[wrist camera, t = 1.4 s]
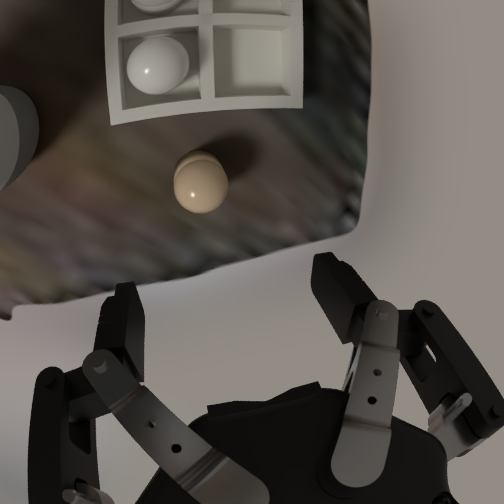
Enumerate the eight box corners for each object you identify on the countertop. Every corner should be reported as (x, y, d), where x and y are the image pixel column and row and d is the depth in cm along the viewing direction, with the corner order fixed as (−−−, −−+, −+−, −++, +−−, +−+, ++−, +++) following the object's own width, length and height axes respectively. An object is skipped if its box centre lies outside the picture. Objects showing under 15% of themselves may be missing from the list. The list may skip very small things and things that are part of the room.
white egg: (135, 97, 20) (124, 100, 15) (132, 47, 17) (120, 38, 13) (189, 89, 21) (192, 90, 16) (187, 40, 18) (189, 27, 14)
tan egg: (177, 198, 27) (177, 226, 22) (171, 153, 24) (170, 171, 20) (223, 192, 27) (234, 218, 23) (220, 147, 25) (231, 164, 20)
